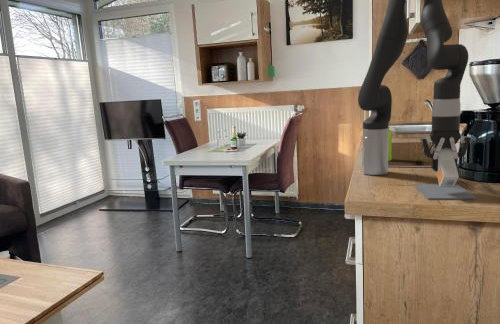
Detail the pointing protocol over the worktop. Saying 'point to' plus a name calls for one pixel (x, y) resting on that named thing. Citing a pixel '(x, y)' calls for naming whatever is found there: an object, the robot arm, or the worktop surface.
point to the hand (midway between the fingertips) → (443, 170)
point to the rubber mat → (444, 192)
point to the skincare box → (446, 168)
